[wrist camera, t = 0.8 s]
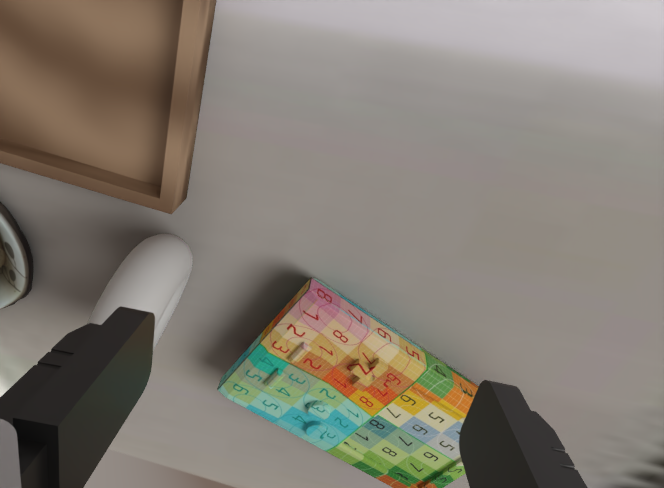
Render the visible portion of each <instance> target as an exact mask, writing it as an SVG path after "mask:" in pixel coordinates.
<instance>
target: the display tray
mask: <svg viewBox="0 0 664 488" xmlns="http://www.w3.org/2000/svg"><path fill="white" fill-rule="evenodd" d="M215 5H216V0H0V163H2V164H5V165H9V166H12V167H15V168H19V169H22V170H25V171H29V172H32V173H35V174H39V175H42V176H46V177H49V178H52V179H56V180H59V181H62V182H66V183H69V184H72V185H76V186H79V187H82V188H86V189H89V190H92V191H96V192H99V193H102V194H106V195H109V196H112V197H116V198H119V199H122V200H126V201H129V202H132V203H136V204H139V205H142V206H146V207H149V208H152V209H156V210H159V211H162V212H166V213H169V214H172V213H173V212H174V211H175V210H176V209H177V208H178V207H179V206H180V205H181V203H182V202H183V201H184V200H185V199H186V197H187V190H188V184H189V177H190V170H191V164H192V157H193V151H194V144H195V137H196V131H197V124H198V118H199V111H200V104H201V98H202V91H203V85H204V78H205V71H206V65H207V58H208V52H209V45H210V38H211V32H212V25H213V19H214V12H215Z"/></svg>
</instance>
